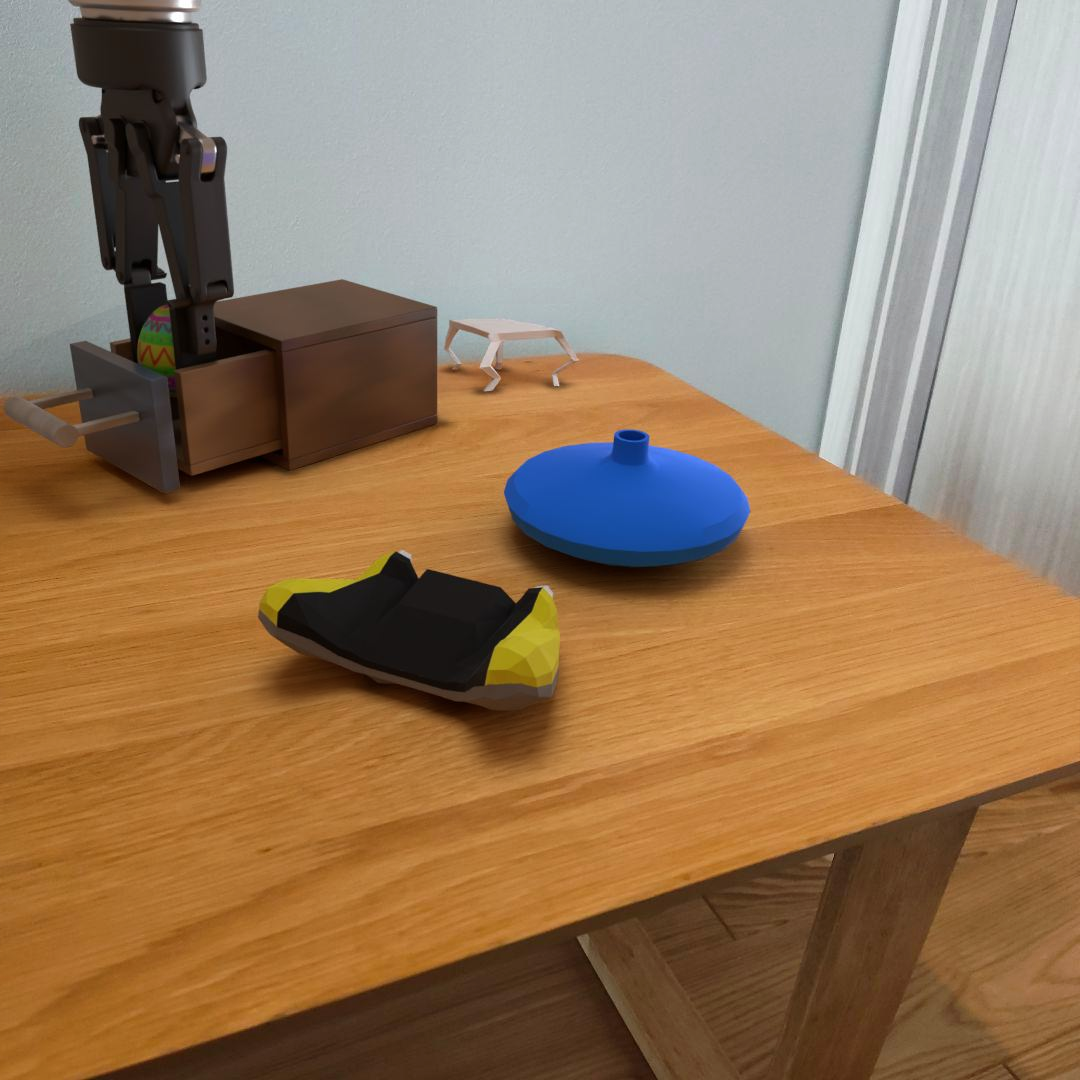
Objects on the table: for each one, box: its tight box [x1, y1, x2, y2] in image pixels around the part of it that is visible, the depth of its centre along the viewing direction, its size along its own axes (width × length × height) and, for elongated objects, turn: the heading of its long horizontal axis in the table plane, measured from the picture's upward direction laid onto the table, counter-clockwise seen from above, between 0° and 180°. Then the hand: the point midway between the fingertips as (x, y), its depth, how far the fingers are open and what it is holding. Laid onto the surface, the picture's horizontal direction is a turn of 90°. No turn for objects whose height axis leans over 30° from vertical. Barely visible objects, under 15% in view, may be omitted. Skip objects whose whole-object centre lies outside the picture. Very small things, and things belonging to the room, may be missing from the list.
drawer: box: [3, 327, 282, 494], centre depth 74 cm, size 19×10×8 cm, turn 138°
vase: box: [503, 428, 751, 568], centre depth 68 cm, size 16×16×7 cm
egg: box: [137, 305, 177, 397], centre depth 73 cm, size 5×5×6 cm
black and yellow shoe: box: [257, 549, 561, 711], centre depth 53 cm, size 15×6×10 cm
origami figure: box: [443, 317, 580, 392], centre depth 96 cm, size 12×8×5 cm
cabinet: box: [214, 278, 438, 471], centre depth 83 cm, size 15×12×10 cm
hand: (177, 386), depth 74 cm, fingers closed on egg, 5 cm apart
